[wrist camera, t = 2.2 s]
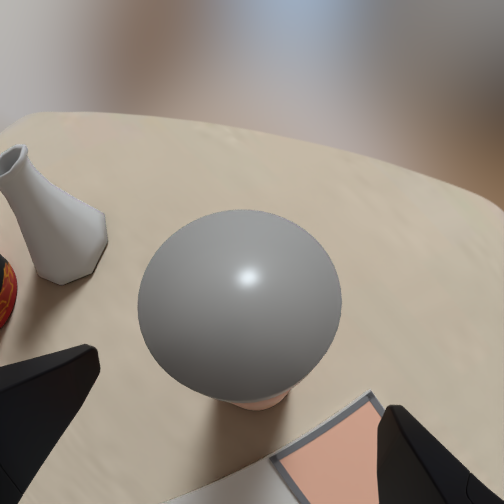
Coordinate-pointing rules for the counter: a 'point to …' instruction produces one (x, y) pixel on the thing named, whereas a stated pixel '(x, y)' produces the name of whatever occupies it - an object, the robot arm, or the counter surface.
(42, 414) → the robot arm
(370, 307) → the counter surface
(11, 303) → the canned food
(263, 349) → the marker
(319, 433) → the grey sorting board
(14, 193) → the flask
